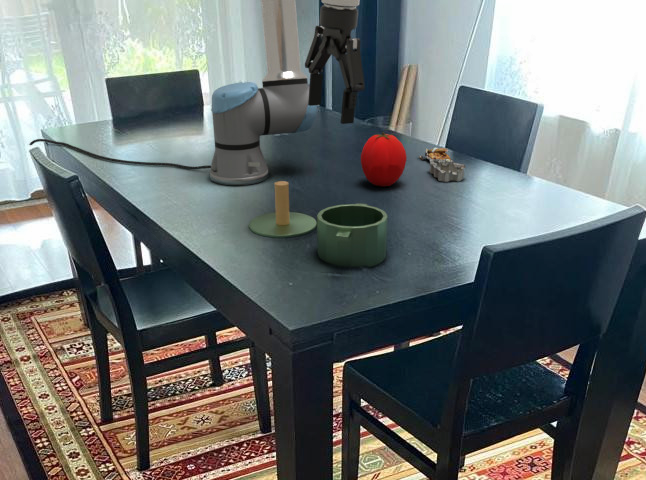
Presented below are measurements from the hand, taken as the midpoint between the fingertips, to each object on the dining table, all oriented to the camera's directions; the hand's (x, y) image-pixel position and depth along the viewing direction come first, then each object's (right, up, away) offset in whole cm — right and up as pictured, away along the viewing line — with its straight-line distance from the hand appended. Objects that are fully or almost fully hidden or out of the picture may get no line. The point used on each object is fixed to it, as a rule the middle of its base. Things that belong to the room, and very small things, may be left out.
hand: (330, 113), depth 162 cm
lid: (-10, -23, +6) cm, 26 cm away
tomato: (+14, -8, +33) cm, 37 cm away
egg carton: (+31, -5, +40) cm, 50 cm away
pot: (+4, -31, -8) cm, 32 cm away
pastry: (+31, +2, +51) cm, 60 cm away
